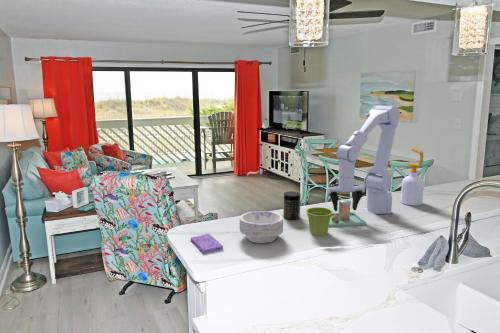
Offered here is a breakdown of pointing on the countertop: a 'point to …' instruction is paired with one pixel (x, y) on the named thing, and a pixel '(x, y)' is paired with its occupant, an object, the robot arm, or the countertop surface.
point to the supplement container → (291, 205)
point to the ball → (335, 219)
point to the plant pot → (319, 220)
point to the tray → (353, 220)
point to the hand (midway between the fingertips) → (344, 210)
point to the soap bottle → (413, 185)
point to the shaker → (344, 210)
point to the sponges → (207, 243)
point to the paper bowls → (261, 226)
